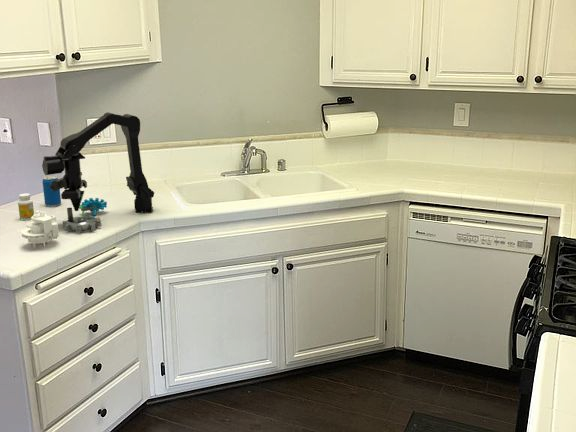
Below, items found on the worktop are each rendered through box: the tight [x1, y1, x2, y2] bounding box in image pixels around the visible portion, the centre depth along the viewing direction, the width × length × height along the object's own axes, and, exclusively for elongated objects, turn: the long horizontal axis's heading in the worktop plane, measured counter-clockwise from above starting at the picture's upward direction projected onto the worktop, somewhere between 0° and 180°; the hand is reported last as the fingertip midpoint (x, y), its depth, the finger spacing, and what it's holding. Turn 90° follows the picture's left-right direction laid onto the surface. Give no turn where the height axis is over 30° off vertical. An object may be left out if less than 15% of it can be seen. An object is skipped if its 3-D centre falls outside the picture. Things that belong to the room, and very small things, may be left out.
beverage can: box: [42, 175, 62, 208], centre depth 272 cm, size 6×6×12 cm
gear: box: [79, 197, 108, 217], centre depth 260 cm, size 11×6×10 cm
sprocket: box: [62, 207, 102, 233], centre depth 242 cm, size 14×14×8 cm
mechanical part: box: [20, 209, 60, 248], centre depth 225 cm, size 11×12×12 cm
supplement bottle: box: [17, 193, 35, 221], centre depth 254 cm, size 5×5×10 cm
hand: (76, 210), depth 248 cm, fingers closed
